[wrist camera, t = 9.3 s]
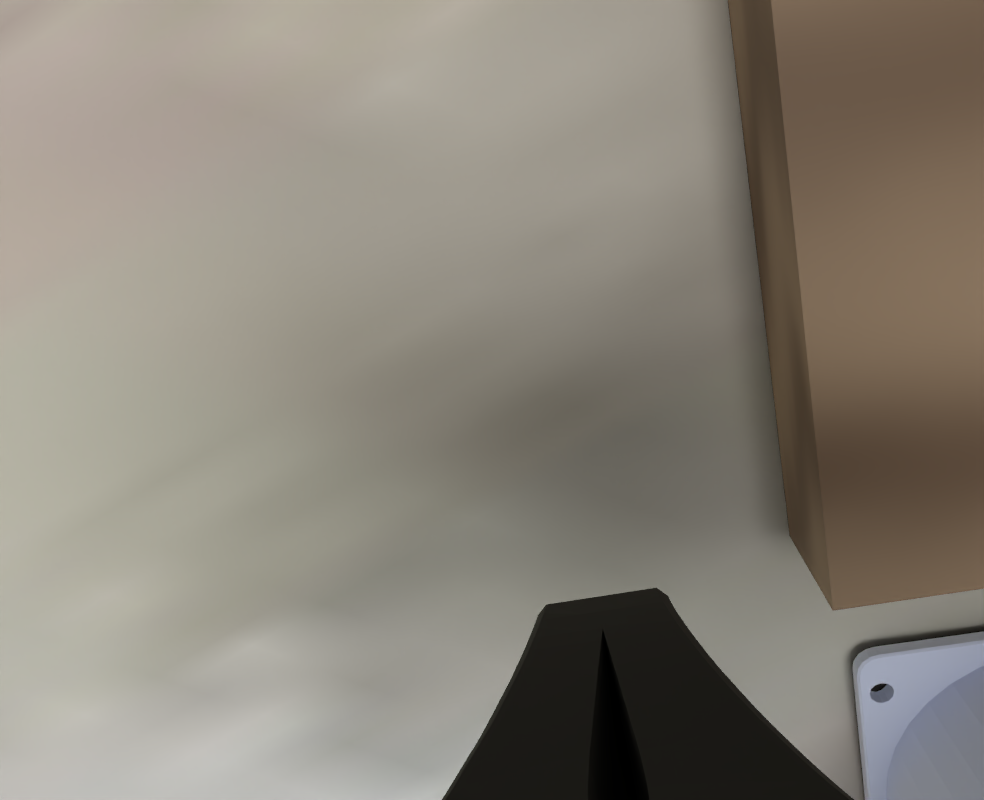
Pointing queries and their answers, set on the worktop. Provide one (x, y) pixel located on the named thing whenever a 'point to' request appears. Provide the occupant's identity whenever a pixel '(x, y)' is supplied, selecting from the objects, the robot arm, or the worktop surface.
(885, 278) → the trap deck
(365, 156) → the worktop surface
